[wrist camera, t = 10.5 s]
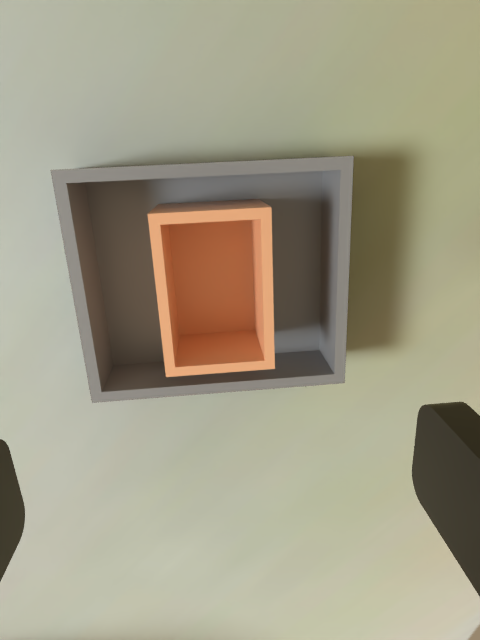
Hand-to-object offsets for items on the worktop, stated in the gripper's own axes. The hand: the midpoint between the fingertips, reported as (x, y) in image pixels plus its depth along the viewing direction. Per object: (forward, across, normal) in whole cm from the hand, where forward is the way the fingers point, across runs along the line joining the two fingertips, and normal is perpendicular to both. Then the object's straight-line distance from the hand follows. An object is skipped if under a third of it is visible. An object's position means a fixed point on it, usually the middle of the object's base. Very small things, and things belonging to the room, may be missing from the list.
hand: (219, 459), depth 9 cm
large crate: (+18, 0, +1) cm, 19 cm away
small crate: (+18, 0, +1) cm, 18 cm away
